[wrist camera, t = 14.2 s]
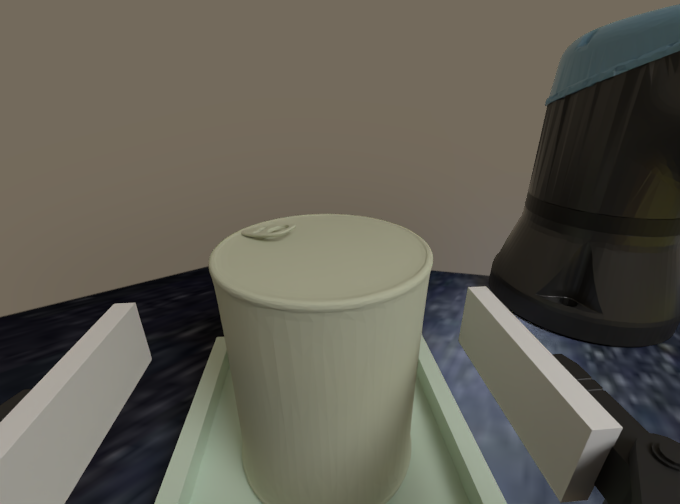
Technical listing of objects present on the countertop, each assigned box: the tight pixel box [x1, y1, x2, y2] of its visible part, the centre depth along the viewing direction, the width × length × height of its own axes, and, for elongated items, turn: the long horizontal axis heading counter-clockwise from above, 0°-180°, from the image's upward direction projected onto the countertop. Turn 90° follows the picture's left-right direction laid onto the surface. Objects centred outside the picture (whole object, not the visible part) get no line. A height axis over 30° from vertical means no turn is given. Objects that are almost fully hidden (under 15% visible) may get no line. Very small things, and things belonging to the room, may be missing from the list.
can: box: [208, 214, 433, 504], centre depth 16 cm, size 9×9×12 cm
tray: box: [154, 334, 507, 504], centre depth 19 cm, size 15×15×2 cm
